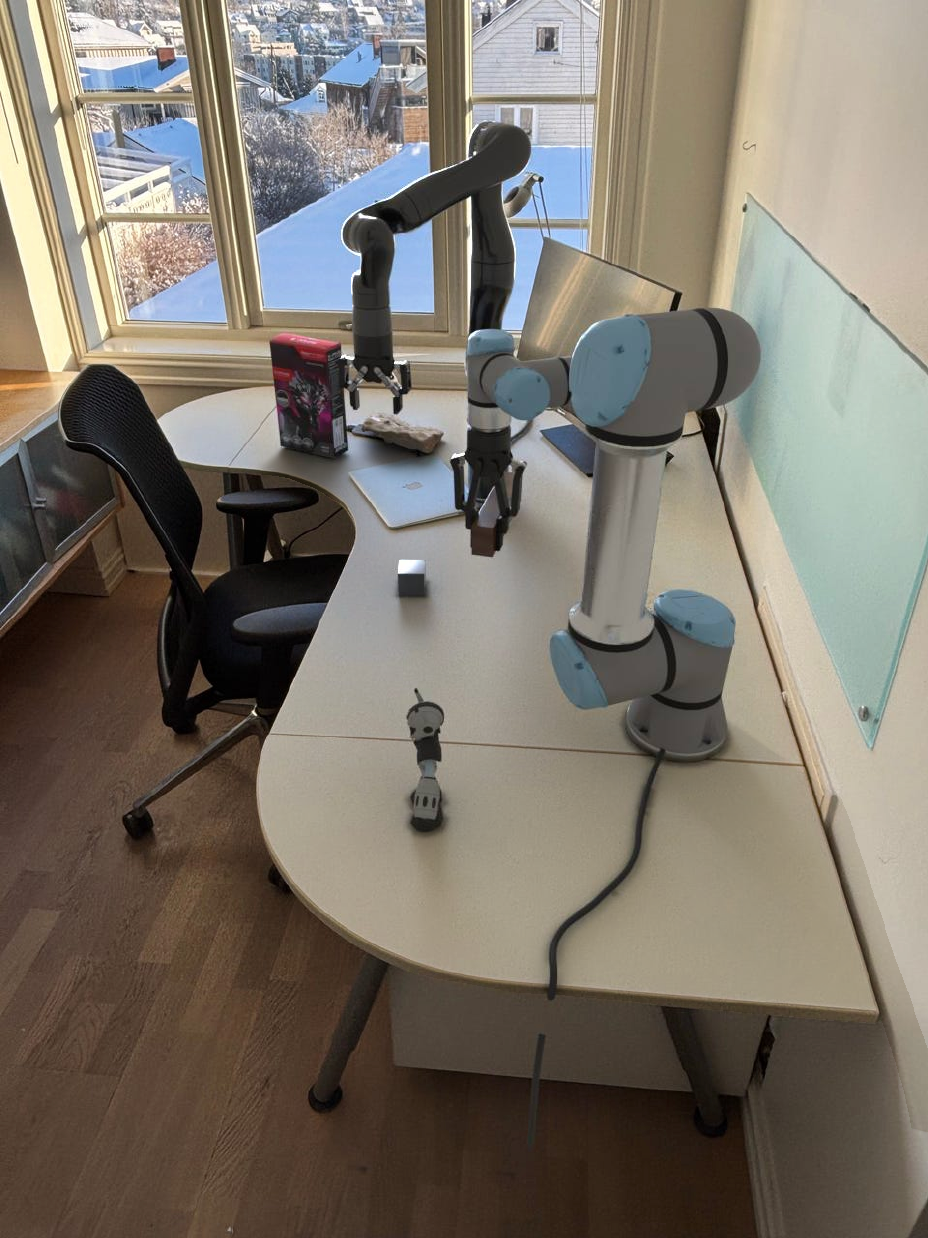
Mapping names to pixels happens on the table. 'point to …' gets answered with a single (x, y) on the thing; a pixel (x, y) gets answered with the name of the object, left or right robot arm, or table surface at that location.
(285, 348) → the graphics card box
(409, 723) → the robot
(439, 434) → the stone
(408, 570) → the slate cube
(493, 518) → the walnut bar
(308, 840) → the table surface
